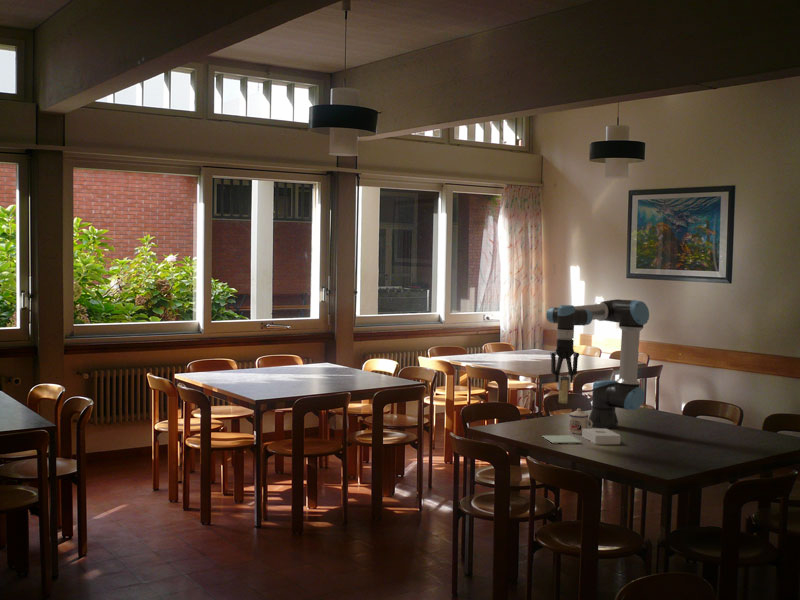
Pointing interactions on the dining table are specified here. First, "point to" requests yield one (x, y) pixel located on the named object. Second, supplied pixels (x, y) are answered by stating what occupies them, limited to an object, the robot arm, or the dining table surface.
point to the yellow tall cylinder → (563, 390)
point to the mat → (562, 439)
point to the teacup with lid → (579, 421)
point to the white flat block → (601, 436)
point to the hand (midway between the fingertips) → (563, 389)
